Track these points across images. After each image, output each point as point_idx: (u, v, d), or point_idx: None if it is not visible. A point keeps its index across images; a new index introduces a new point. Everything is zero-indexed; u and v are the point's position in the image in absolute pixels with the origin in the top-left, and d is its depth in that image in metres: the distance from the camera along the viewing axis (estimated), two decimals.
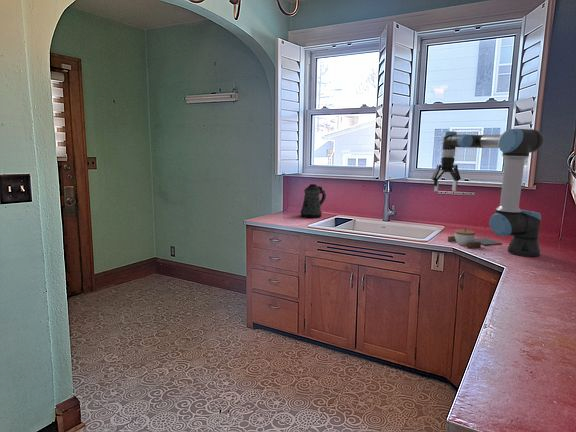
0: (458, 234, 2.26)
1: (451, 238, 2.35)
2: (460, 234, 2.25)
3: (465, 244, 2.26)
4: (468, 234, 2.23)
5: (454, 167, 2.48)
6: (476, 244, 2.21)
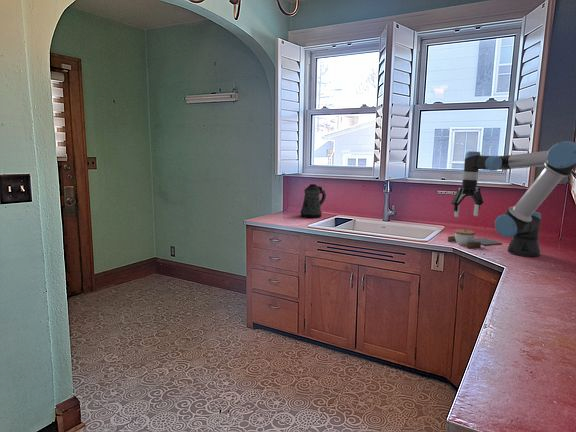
0: (458, 234, 2.26)
1: (451, 238, 2.35)
2: (460, 234, 2.25)
3: (465, 244, 2.26)
4: (468, 234, 2.23)
5: (476, 190, 2.25)
6: (476, 244, 2.21)
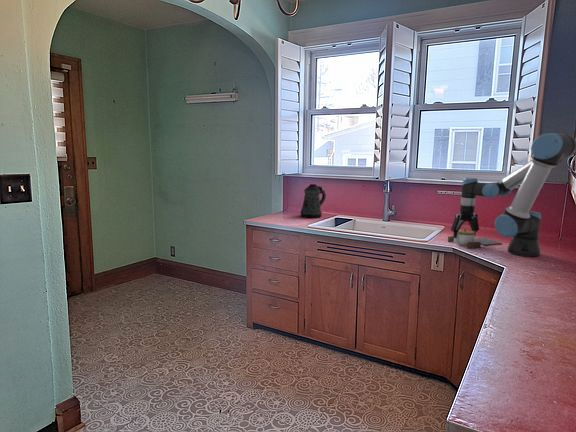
0: None
1: (451, 238, 2.35)
2: (460, 234, 2.25)
3: (465, 244, 2.26)
4: (468, 234, 2.23)
5: (474, 216, 2.28)
6: (476, 244, 2.21)
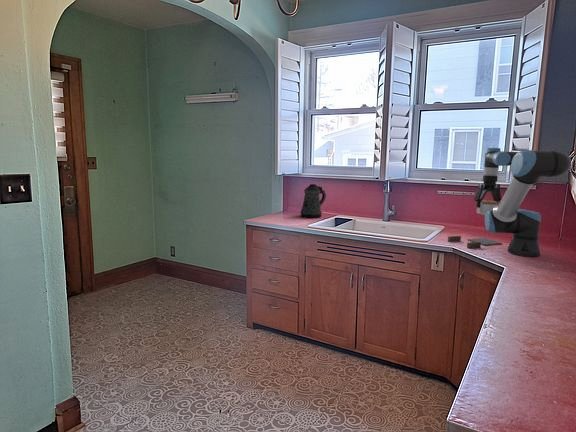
0: None
1: (451, 238, 2.35)
2: (483, 204, 2.27)
3: None
4: (491, 203, 2.25)
5: (496, 186, 2.30)
6: (476, 244, 2.21)
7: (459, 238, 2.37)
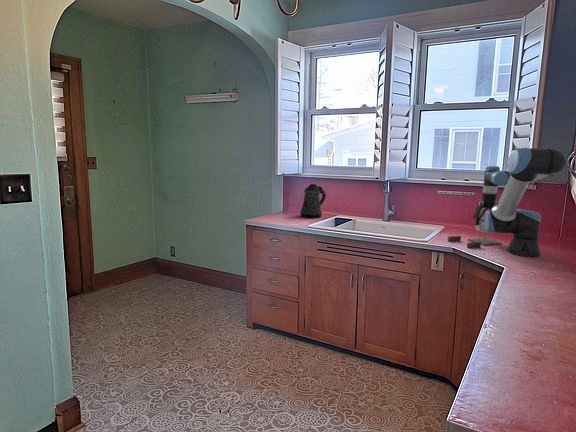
0: None
1: (451, 238, 2.35)
2: (482, 221, 2.30)
3: (487, 231, 2.31)
4: None
5: (495, 204, 2.32)
6: (476, 244, 2.21)
7: (459, 238, 2.37)
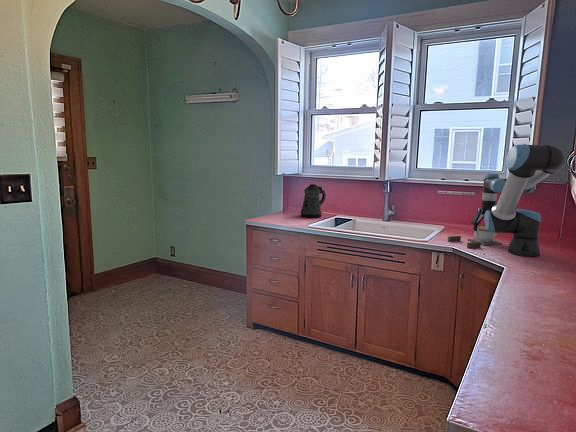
0: (480, 231, 2.32)
1: (451, 238, 2.35)
2: (482, 231, 2.31)
3: (486, 240, 2.32)
4: None
5: None
6: (476, 244, 2.21)
7: (459, 238, 2.37)
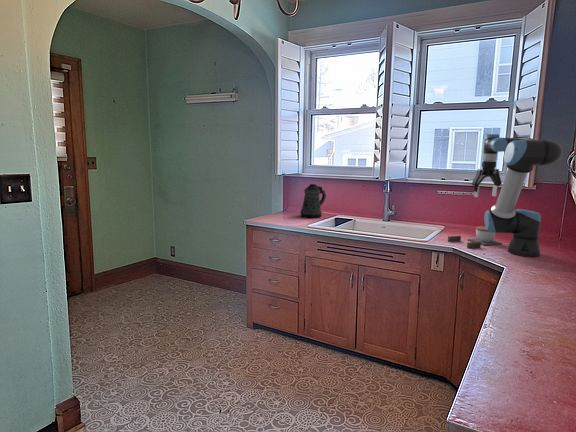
0: (480, 231, 2.32)
1: (451, 238, 2.35)
2: (482, 231, 2.31)
3: (486, 240, 2.32)
4: None
5: (495, 171, 2.36)
6: (476, 244, 2.21)
7: (459, 238, 2.37)
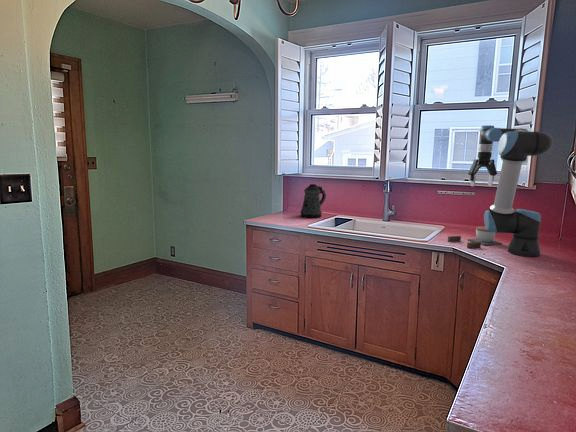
0: (480, 231, 2.32)
1: (451, 238, 2.35)
2: (482, 231, 2.31)
3: (486, 240, 2.32)
4: None
5: (491, 162, 2.45)
6: (476, 244, 2.21)
7: (459, 238, 2.37)
